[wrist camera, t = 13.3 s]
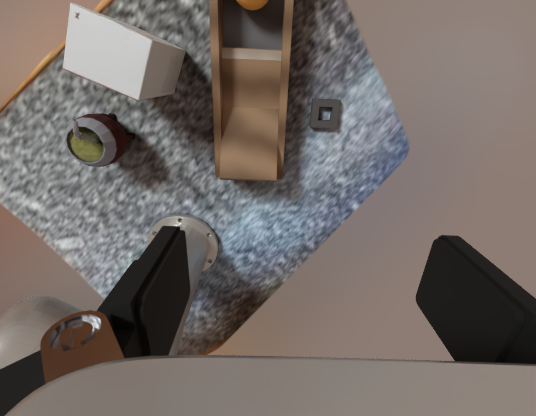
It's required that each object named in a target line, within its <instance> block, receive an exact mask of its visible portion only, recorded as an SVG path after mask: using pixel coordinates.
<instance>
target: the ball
mask: <svg viewBox="0 0 536 416" xmlns="http://www.w3.org/2000/svg"><path fill="white" fill-rule="evenodd" d="M236 1H237V2H238V3H239V5H241V6H242V7H243V8H245V9H248V10H257V9H260V8H262V7H263V6H264V5H265V4H266V3H267V2H268V0H236Z"/></svg>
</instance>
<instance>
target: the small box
mask: <svg viewBox="0 0 536 416" xmlns="http://www.w3.org/2000/svg"><path fill="white" fill-rule="evenodd" d="M185 53H186V51H185V50H184V49H182V48H180V47H177V46H175V45H173V44H171V43H169V42H167V41H165V40H163V39H160V38H158V37H156V36H154V35H152V34H150V33H148V32H145V31H143V30H141V29H139V28H136V27H134V26H132V25H129V24H126V23H123V22H121V21H118V20H115V19H113V18H110V17H108V16H105V15H103V14H100V13H98V12H95V11H93V10H90V9H87V8H85V7H82V6H80V5H77V4H74V3H70V13H69V20H68V29H67V37H66V47H65V55H64V64H63V69H65V70H67V71H69V72H71V73H74V74H76V75H78V76H81V77H83V78H86V79H88V80H90V81H93V82H95V83H97V84H100V85H102V86H104V87H107V88H109V89H112V90H114V91H116V92H119V93H121V94H124V95H126V96H128V97H131V98H133V99H135V100H138V101H139V100H144V99H149V98H155V97H160V96H166V95H171V94H174V93H175V89H176V85H177V81H178V78H179V74H180V71H181V67H182V63H183V60H184V56H185Z"/></svg>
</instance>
